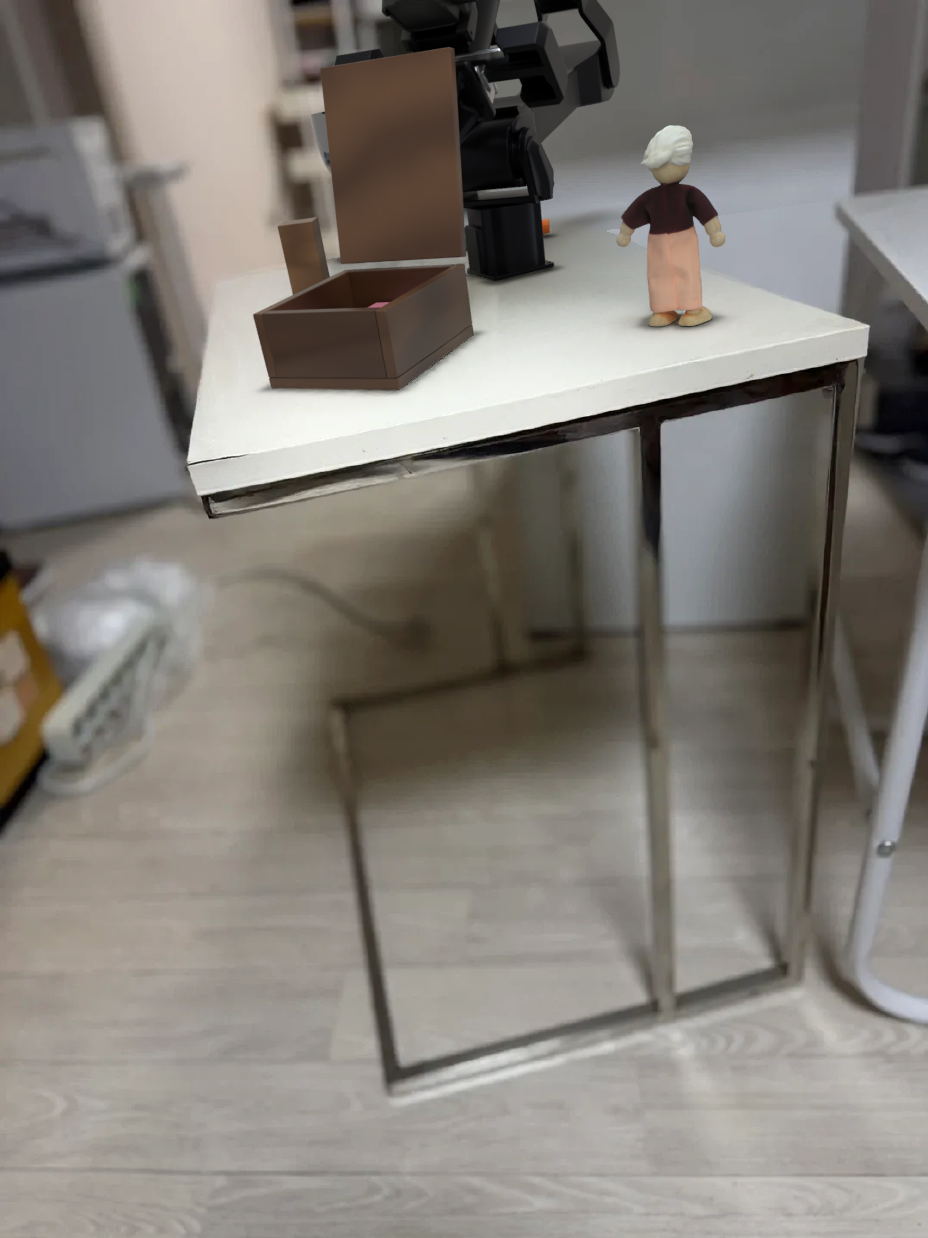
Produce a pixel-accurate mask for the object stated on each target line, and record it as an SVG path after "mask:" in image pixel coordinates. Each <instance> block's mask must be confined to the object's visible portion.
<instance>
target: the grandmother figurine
mask: <svg viewBox="0 0 928 1238" xmlns="http://www.w3.org/2000/svg"><path fill="white" fill-rule="evenodd" d="M692 138H693V135H692V134H691V130H689V129H687V128H686V127H685V126H682V125H667V126H665V127H664V128H662V129H661V130H659V131H657V132H656V133H655V135H654V136H653V137H652V138H650V141H649V143H648V144H647V147H646V150H645V151H644V154H643V159H642V161H641V163H640V166H644V167H645V168H646V169H648V170H649V171H650V172H651V174H652V177H653V178H654V180H656V182H658V183H659V184H660V185H657V186H654V187H651V188H649V189H647V190H645V191H644V192H642V193H641V194H640V195H638V196H637V197H636V198H635V199H633V201H632V202H631V203H630V204H629V205H628V207H627V208H626V209H625V210H624V212H623V213H622V214H621V216H620V218H621V220H622V221H621V224H620V227H619V233H618V234H617V236H616V239H615V242H616V244H617V246H619V247H620V248H625V247H627V246H629V245H630V243H631V241H632V235H633V234H634V233H635V231H636V229H639V228H642V227H644V226H646V225H649V230H648V234H647V246H646V247H647V248H646V249H647V250H646V251H647V252H646V277H647V280H646V281H647V288H648V298H649V299H648V301H649V311H651V312H653V313H652V314H651V316H650V319H649V322H648V326H650V327H665V326H669V325H670V324H672V323H675V321H676V320H678V323H677V325H679V326H681V327H694V326H697V325H701V324H703V323H705V322H708V321H710V320H711V319H713V315H712V312H711V310H710V309H709V308H707V307H706V306H703V285H702V273H701V257H700V243H699V236H698V232H697V230H696V226H695V222H694V218H695V219H696V220H697V221H698V222H699V224H701V226H702V227H703V228H704V230H705V233H706V235H708V237H709V243H710V245H711V246H712V247H714V248H720V247H722V246H723V245H725V243H726V235H725V233H724V232H723V231H722V224H721V221H720V219H719V213H718V211H717V210H716V208H715V207H714V205H713V203H712V202H711V201H710V199H709V198H708V197H707V195H706V194H705V193H704V192H703V191H702V190H701V189H700V188H697V187H696V186H694V185H691V184H686V183H681V182H682V181H683V180H684V179H685V178H686V177H687V175H688V173H689V171H690V168H691V159H692V154H693V147H694V143H693V139H692ZM677 311H685V312H684V313H683V314H682V315H681V316H680V318H679V315H678V313H677ZM678 318H679V319H678Z"/></svg>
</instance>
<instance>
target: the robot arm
mask: <svg viewBox="0 0 928 1238" xmlns="http://www.w3.org/2000/svg"><path fill="white" fill-rule="evenodd" d="M500 2H501V0H381V13H382V15H383V16H384V17H386V18H388V17H389V18H390V19H391V20H392V21H393V22H394V23H396V25H398V26H399V27H400V28H401V29H402V32H401V36H400V43H401V44H402V46H403V48H404V49H405V50H406V52H407V53H416V52H422V51H428V50H434V49H441V48H447V47H451V48H454V51H455V68H456V86H457V103H458V121H459V139H460V156H461V174H462V191H463V209H466V216H467V225H464V227H465V238H466V246H467V249H466V255H467V260H468V262H467V263H468V267H467V268H466V274H468V275H471V276H475V277H478V278H482V279H484V280H488V281H492V282H500V281H505V280H508V279H512V278H517V277H520V276H521V277H522V276H524V275H528V274H529V275H530V274H532V273H536V272H541V271H545V270H549V269H553V268H555V262H554V261H553V260H552V261H551V260H548V259H546V250H545V239H544V234H543V226H542V220H543V216H542V214H543V213H542V203H541V202H544V201H549V200H552V199H554V187H555V179H554V177H555V176H554V175H555V171H554V168H553V166H552V164H551V161H550V159H549V157H548V155H547V153H546V150H545V148H544V147H543V144H542V143H543V142H544V141H545V140H546V139H547V138H548V137H549V136H550V135H551V134H552V133H553V132H554V131H555V130H556V129H557V128H558V127H559V126H561V124H562V123H564V121H565V120H567V118H568V117H570V116H571V115H572V114H573V113H574V112H575V111H576V110H577V108H581V107H582V108H583V107H586V106H591V105H597V104H602V103H605V102H608V101H610V100H611V98H612V97H613V95H614V92H615V89H616V88H617V87H618V86H619V83H620V77H621V76H620V75H621V64H620V57H619V56H620V55H619V50H618V49H619V48H618V43H617V37H616V31H615V24H614V22H613V20H612V18H611V17H610V16H609V14H608V13H607V11H606V10H605V9H604V8H603V6H602V5H601V4H600V2H599V1H598V0H533V4H534V8H535V14H536V17H537V21H534V22H529V23H525V24H524V23H522V24H517V25H516V24H515V25H512V26H511V25H510V26H505V27H500V28H499V26H498V24H497V17H498V12H499V7H500V4H501V3H500ZM573 11H578V15H579V16H580V18H581V19H582V20H583V22H584V23H585V25H586V26H587V27H588V28H589V30H590V31H591V32H592V34H593V35H594V36H595V38H596V39H595V40H587V41H582V42H576V43H570V44H568V43H567V44H563V45H562V44H561V45H559V43H558V42H557V39H556V36H555V33H554V31H553V28H552V27H551V26H550V25H549V23H548V19H549V16H550V15H555V14H562V13H567V12H573ZM494 46H496V47H494ZM491 47H493V48H491ZM385 57H386V56H385V55H384V54H383V51H382V50H381V48H374V49H368V50H363V51H356V52H349V53H345V54H338V55H336V56H335V59H334V62H333V65H332V66H336V65H342V64H348V63H354V62H361V61H367V60H373V59H379V58H385ZM513 80H519V83H520V85H521V87H520V90H519V92H518V93H516V94H515V95H509V96H508V95H507V96H503V97H502V96H501V97H495V95H497V94H498V93H499V86H498V85H497V83H500V82H506V81H513ZM524 187H526V188H524ZM514 188H522V189H514ZM502 189H503V190H502ZM504 189H509V190H504ZM510 189H511V190H510ZM493 190H497V191H493ZM498 190H499V191H498ZM481 191H487V192H481Z"/></svg>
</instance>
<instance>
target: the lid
mask: <svg viewBox="0 0 928 1238" xmlns="http://www.w3.org/2000/svg"><path fill="white" fill-rule="evenodd" d="M384 57H385V58H379V59H373V60H367V61H361V62H354V63H348V64H342V65H336V66H333V65H329V66H324V67H320V69H319V71H320V78H321V89H322V98H323V99H322V100H323V107H324V108H323V109H324V112H325V118H326V128H327V137H328V147H329V156H330V165H331V173H330V175H331V184H332V193H333V202H334V212H335V222H336V230H337V231H336V232H337V237H338V238H337V240H338V241H337V242H338V250H339V259H340V264H341V265H348V264H349V265H350V264H366V263H383V262H384V263H385V262H400V261H401V262H402V261H419V260H435V259H453V258H454V259H455V258H466V257H467V249H466V244H465V212H464V210H465V208H463V191H462V174H461V156H460V139H459V121H458V103H457V86H456V68H455V51H454V48H451V47H447V48H441V49H434V50H428V51H422V52H416V53H413V52H409V53H405V54H397V55H393V56H384Z"/></svg>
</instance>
